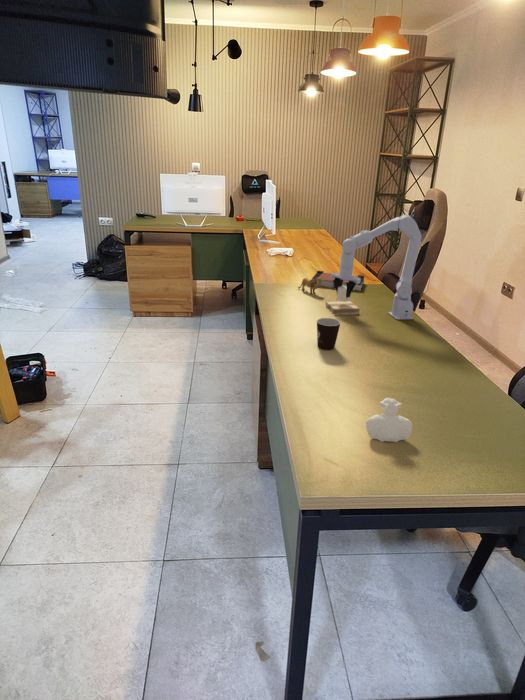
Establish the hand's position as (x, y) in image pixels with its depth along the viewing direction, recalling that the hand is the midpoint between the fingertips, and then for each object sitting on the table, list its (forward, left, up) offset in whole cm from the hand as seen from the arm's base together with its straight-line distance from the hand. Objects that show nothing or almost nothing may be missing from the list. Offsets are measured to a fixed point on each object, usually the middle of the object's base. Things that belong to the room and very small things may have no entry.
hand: (343, 295), depth 218 cm
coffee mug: (-40, +21, -7) cm, 46 cm away
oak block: (0, 0, -7) cm, 7 cm away
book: (+43, -14, -8) cm, 46 cm away
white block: (0, 0, -2) cm, 2 cm away
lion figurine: (+29, +7, -7) cm, 31 cm away
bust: (-101, +25, -7) cm, 104 cm away
